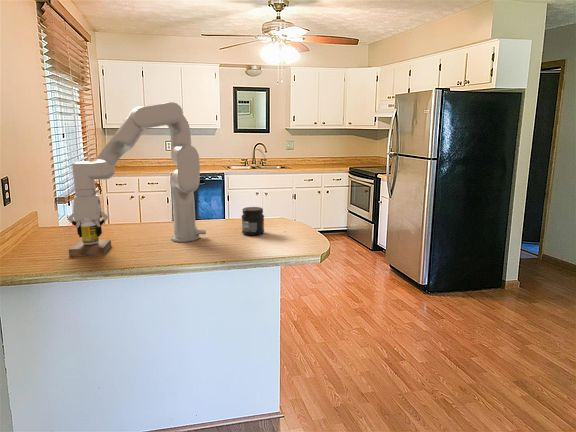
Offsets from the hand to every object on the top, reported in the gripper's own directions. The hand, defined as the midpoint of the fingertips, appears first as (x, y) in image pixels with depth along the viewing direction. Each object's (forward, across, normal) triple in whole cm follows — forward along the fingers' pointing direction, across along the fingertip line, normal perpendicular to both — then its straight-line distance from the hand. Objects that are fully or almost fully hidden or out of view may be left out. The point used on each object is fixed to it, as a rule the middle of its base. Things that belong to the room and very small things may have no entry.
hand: (90, 235), depth 184 cm
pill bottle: (+3, 0, 0) cm, 3 cm away
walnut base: (+7, 0, 0) cm, 7 cm away
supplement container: (+7, -68, -18) cm, 70 cm away
